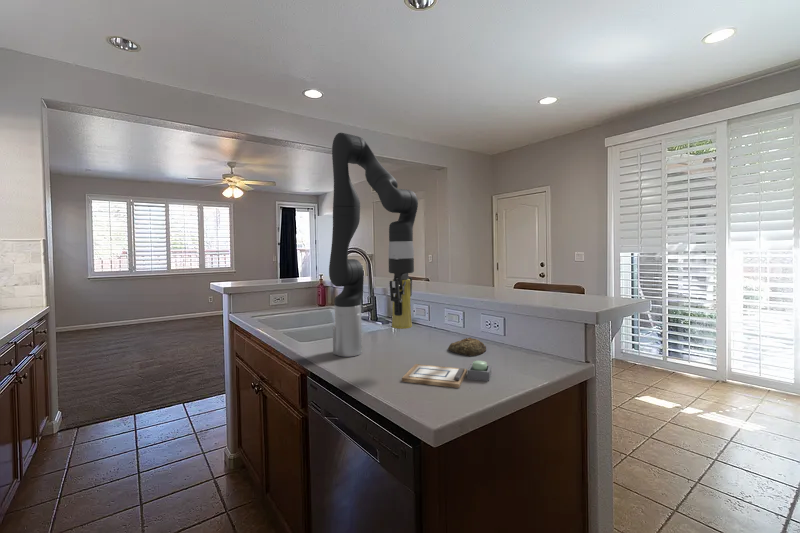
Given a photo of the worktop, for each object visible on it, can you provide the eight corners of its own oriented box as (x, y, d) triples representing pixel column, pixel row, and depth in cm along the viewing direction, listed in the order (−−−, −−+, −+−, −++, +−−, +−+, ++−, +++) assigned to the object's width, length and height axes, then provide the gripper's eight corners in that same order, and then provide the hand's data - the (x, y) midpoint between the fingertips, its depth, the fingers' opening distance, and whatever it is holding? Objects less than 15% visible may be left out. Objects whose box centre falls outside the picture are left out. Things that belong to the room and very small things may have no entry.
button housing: (467, 378, 106) (467, 370, 106) (470, 372, 112) (470, 363, 111) (489, 381, 104) (489, 372, 104) (491, 374, 110) (491, 365, 109)
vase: (410, 329, 109) (409, 280, 108) (389, 328, 110) (389, 280, 109) (413, 325, 115) (413, 278, 114) (394, 324, 116) (393, 278, 115)
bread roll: (470, 358, 126) (470, 344, 126) (443, 350, 136) (443, 337, 136) (493, 351, 134) (493, 337, 134) (467, 344, 144) (467, 332, 144)
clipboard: (401, 381, 104) (401, 374, 104) (415, 367, 117) (415, 361, 117) (459, 388, 99) (459, 380, 99) (467, 372, 111) (467, 366, 111)
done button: (471, 371, 106) (471, 364, 106) (473, 366, 110) (473, 360, 110) (485, 372, 105) (485, 365, 105) (487, 368, 109) (487, 361, 109)
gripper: (397, 256, 119) (398, 309, 120) (380, 257, 106) (381, 317, 107) (420, 256, 117) (420, 310, 118) (405, 257, 103) (406, 318, 104)
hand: (401, 313), depth 112 cm, fingers closed on vase, 5 cm apart
